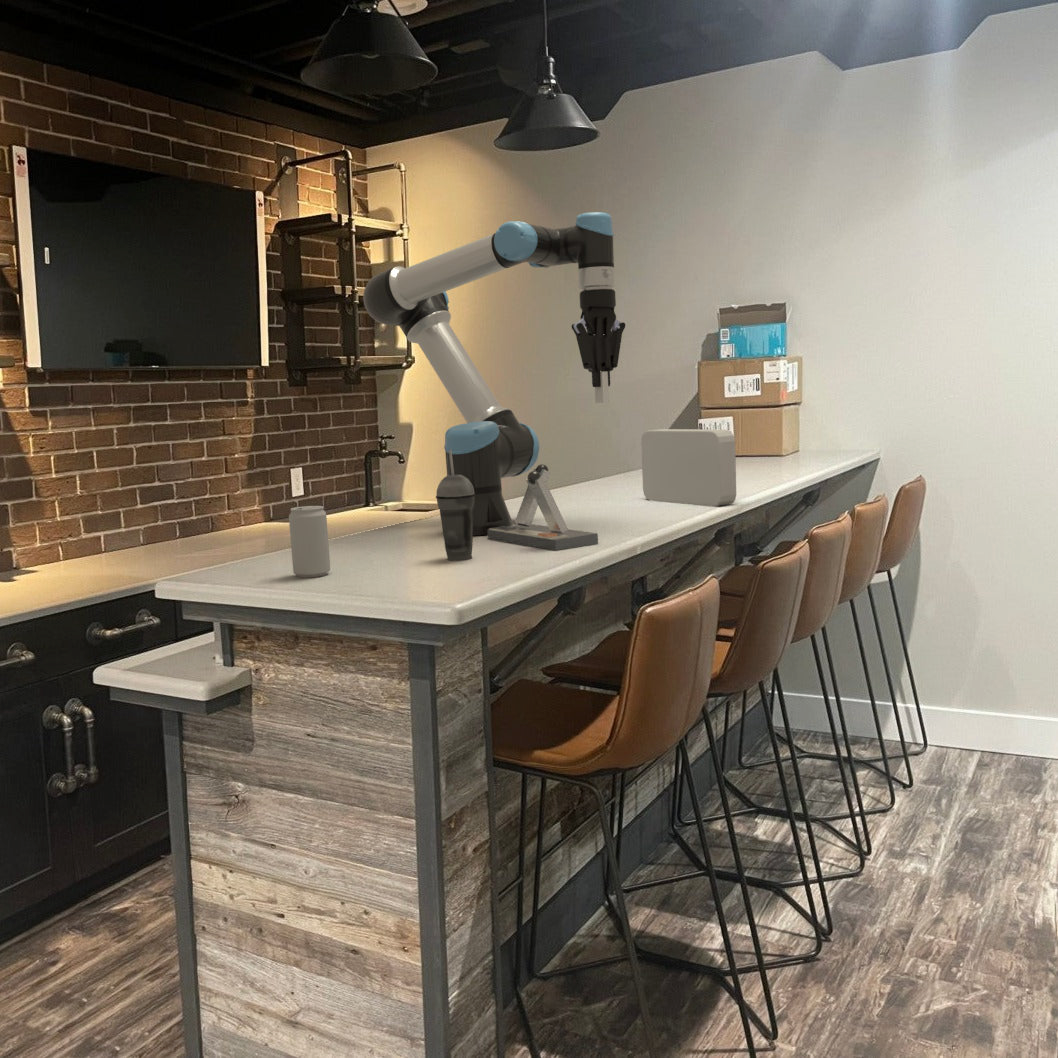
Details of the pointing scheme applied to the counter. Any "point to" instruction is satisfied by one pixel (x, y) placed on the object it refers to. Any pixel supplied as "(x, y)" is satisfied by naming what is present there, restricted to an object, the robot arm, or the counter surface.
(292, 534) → the beverage can
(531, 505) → the inner lever
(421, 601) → the counter surface
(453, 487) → the beverage cup
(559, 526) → the outer lever
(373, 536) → the counter surface
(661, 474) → the gray rounded block
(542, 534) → the switch base
